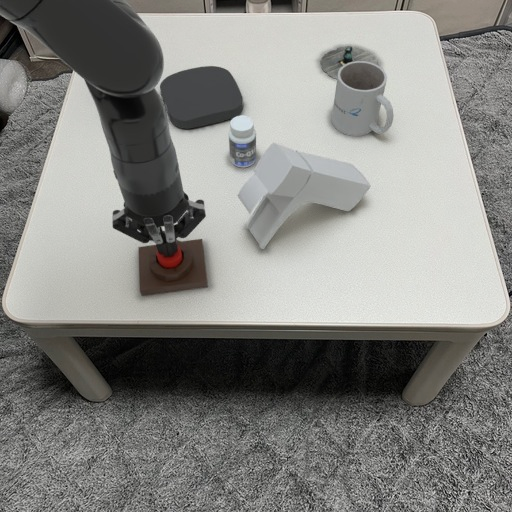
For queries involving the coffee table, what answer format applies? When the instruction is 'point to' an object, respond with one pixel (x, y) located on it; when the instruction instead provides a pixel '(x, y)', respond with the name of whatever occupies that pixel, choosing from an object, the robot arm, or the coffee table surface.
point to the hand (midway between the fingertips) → (168, 251)
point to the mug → (360, 99)
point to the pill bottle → (242, 141)
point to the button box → (172, 269)
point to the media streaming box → (201, 96)
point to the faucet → (296, 188)
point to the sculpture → (344, 59)
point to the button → (170, 259)
